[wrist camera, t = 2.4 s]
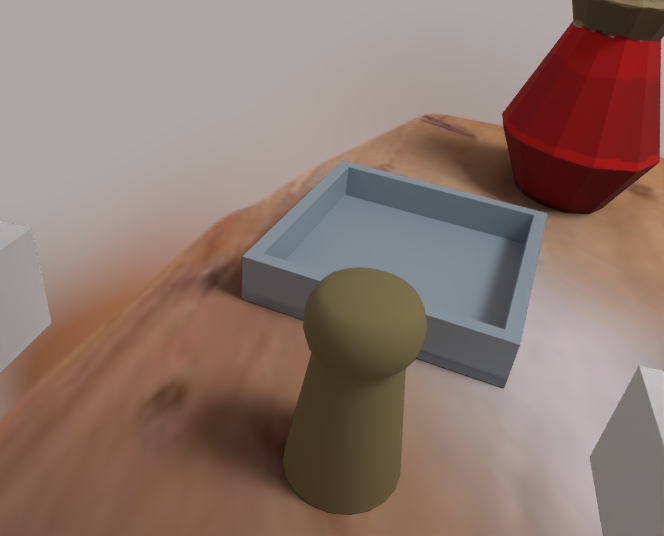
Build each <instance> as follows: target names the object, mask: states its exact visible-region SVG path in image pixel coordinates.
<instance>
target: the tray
mask: <svg viewBox="0 0 664 536" xmlns="http://www.w3.org/2000/svg"><path fill="white" fill-rule="evenodd" d="M547 214H548V213H545V212H541V211H537V210H533V209H529V208H525V207H521V206H517V205H513V204H510V203H506V202H502V201H498V200H494V199H490V198H486V197H482V196H478V195H475V194H471V193H467V192H463V191H459V190H455V189H451V188H447V187H443V186H440V185H436V184H432V183H428V182H424V181H420V180H416V179H412V178H408V177H405V176H401V175H397V174H393V173H389V172H385V171H381V170H377V169H373V168H370V167H366V166H362V165H358V164H354V163H350V162H346V161H341V162H340V163H339V164H338V165H337V166H336V167H335V168H334V169H333V170H332V171H331V172H330V173H329V174H328V175H327V176H326V177H325V178H324V179H322V180H321V181H320V182H319V183H318V184H317V185H316V186H315V187H314V188H313V189H312V190H311V191H310V192H309V193H308V194H307V195H306V196H305V197H304V198H303V199H302V200H301V201H300V202H298V203H297V204H296V205H295V206H294V207H293V208H292V209H291V210H290V211H289V212H288V213H287V214H286V215H285V216H284V217H283V218H282V219H281V220H280V221H279V222H278V223H277V224H276V225H274V226H273V227H272V228H271V229H270V230H269V231H268V232H267V233H266V234H265V235H264V236H263V237H262V238H261V239H260V240H259V241H258V242H257V243H256V244H255V245H254V246H253V247H252V248H250V249H249V250H248V251H247V252H246V253H245V254H244V255H243V256H242V299H243V300H246V301H249V302H252V303H255V304H258V305H261V306H264V307H267V308H270V309H273V310H276V311H279V312H282V313H285V314H288V315H290V316H293V317H296V318H299V319H302V320H304V313H305V306H306V302H307V300H308V298H309V295H310V294H311V292H312V291H313V289H314V288H315V287H316V285H317V284H318V283H319V282H320V281H321V280H322V279H323V278H325V277H326V276H328V275H329V274H331V273H333V272H335V271H339V270H342V269H346V268H358V267H363V268H373V269H378V270H382V271H385V272H389V273H392V274H394V275H396V276H398V277H400V278H402V279H404V280H405V281H406V282H407V283H409V284H410V285H411V286H412V287H413V288H414V289H415V290H416V292H417V293H418V295H419V297H420V298H421V300H422V302H423V304H424V306H425V312H426V321H427V331H426V335H425V339H424V342H423V344H422V347H421V350H420V352H419V354H418V355H417V357H416V358H417V359H420V360H423V361H426V362H429V363H432V364H435V365H437V366H440V367H443V368H446V369H449V370H452V371H455V372H458V373H461V374H464V375H467V376H470V377H473V378H476V379H479V380H482V381H485V382H487V383H490V384H493V385H496V386H499V387H502V388H504V387H505V384H506V381H507V379H508V376H509V373H510V371H511V368H512V365H513V362H514V360H515V357H516V354H517V351H518V349H519V346H520V342H521V337H522V333H523V328H524V323H525V318H526V314H527V309H528V304H529V299H530V295H531V290H532V285H533V280H534V276H535V271H536V266H537V261H538V257H539V252H540V247H541V242H542V238H543V233H544V228H545V223H546V219H547Z"/></svg>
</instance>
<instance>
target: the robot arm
mask: <svg viewBox="0 0 664 536" xmlns="http://www.w3.org/2000/svg"><path fill="white" fill-rule="evenodd" d="M50 324H51V319H50V313H49V309H48V304H47V299H46V294H45V289H44V284H43V279H42V274H41V269H40V264H39V259H38V254H37V249H36V244H35V239H34V235H33V230H32V228H31V227H27V226H23V225H18V224H14V223H9V222H5V221H0V372H1V371H2V370H3V369H4V368H5V367H6V366H7V365H8V364H10V363H11V362H12V361H13V360H14V359H15V358H16V357H17V355H19V354H20V353H21V352H22V351H23V350H24V349H25V348H26V347H27V346H28V345H29V344H30V343H31V342H32V341H33V340H34V339H35V338H36V337H37V336H38V335H39V334H40V333H41V332H43V331H44V329H46V328H47V327H48V326H49V325H50ZM590 462H591V468H592V474H593V479H594V485H595V491H596V497H597V503H598V509H599V515H600V521H601V527H602V532H603V536H664V371H661V370H657V369H652V368H648V367H644V366H639V367H638V369H637V371H636V372H635V374H634V376H633V378H632V380H631V382H630V383H629V385H628V387H627V389H626V391H625V393H624V395H623V396H622V398H621V400H620V402H619V404H618V406H617V408H616V409H615V411H614V413H613V415H612V417H611V419H610V420H609V422H608V424H607V426H606V428H605V430H604V432H603V433H602V435H601V437H600V439H599V441H598V443H597V445H596V446H595V448H594V450H593V452H592V454H591V456H590Z"/></svg>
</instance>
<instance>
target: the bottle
mask: <svg viewBox="0 0 664 536" xmlns="http://www.w3.org/2000/svg"><path fill="white" fill-rule="evenodd" d="M572 5H573V22H572V23H571V24H570V26H569V27H568V28H567V30H566V31H565V32H564V34H563V35H562V36H561V38H560V39H559V40H558V41H557V43H556V44H555V45H554V47H553V48H552V49H551V51H550V52H549V53H548V55H547V56H546V57H545V58H544V60H543V61H542V62H541V64H540V65H539V66H538V68H537V69H536V70H535V72H534V73H533V74H532V75H531V77H530V78H529V79H528V81H527V82H526V83H525V85H524V86H523V87H522V89H521V90H520V91H519V93H518V94H517V95H516V96H515V98H514V99H513V101H512V102H511V103H510V104H509V106H508V107H507V108H506V110H505V111H504V112H503V114H502V116H503V126H504V131H505V136H506V141H507V146H508V150H509V155H510V160H511V165H512V169H513V174H514V179H515V184H516V186H517V187H518V188H519V189H520V190H521V191H522V192H523V193H524V195H526V196H528V197H529V198H531V199H533V200H535V201H537V202H539V203H540V204H542V205H545V206H547V207H550V208H553V209H556V210H559V211H562V212H565V213H583V214H590V213H592V212H594V211H597V210H599V209H601V208H603V207H604V206H605V205H607V204H608V203H609V202H610V201H612V200H613V199H614V198H615V197H617V196H618V195H619V194H620V193H622V192H623V191H624V190H625V189H627V188H628V187H629V186H630V185H632V184H633V183H634V182H635V181H637V180H638V179H639V178H640V177H642V176H643V175H644V174H645V173H647V172H648V171H649V170H650V169H652V168H653V167H654V166H655V165H657V164H658V163H659V159H660V151H659V150H660V67H661V66H660V65H661V39H662V37H663V36H664V0H572Z"/></svg>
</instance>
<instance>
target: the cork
mask: <svg viewBox="0 0 664 536" xmlns="http://www.w3.org/2000/svg"><path fill="white" fill-rule="evenodd" d="M303 328H304V332H305V337H306V340H307V343H308V346H309V349H310V351H311V352H312V353H311V356H310V360H309V363H308V367H307V371H306V374H305V378H304V381H303V385H302V388H301V392H300V395H299V399H298V402H297V406H296V409H295V413H294V416H293V420H292V424H291V427H290V431H289V434H288V438H287V441H286V445H285V449H284V456H283V467H284V471H285V475H286V479H287V480H288V482H289V483H290V485H291V487H292V488H293V490H294V491H295V493H296V494H297V495H299V496H300V497H301V498H302V499H304V500H305V501H306V502H307V503H309V504H310V505H311V506H314V507H316V508H319V509H321V510H324V511H326V512H329V513H336V514H346V515H351V514H357V513H362V512H367V511H370V510H372V509H373V508H375V507H377V506H379V505H381V504H382V503H384V502H385V501H386V500H387V499H388V497H389V496H390V495H391V494H392V493H393V492H394V490H395V489H396V486H397V483H398V480H399V477H400V467H401V448H402V429H403V409H404V390H405V371H406V368H407V367H408V366H409V365H410V364H411V363H412V362H413V361H414V360H415V358H416V357H417V355H418V354H419V352H420V350H421V347H422V344H423V342H424V339H425V335H426V331H427V321H426V312H425V306H424V304H423V302H422V300H421V298H420V297H419V295H418V293H417V292H416V290H415V289H414V288H413V287H412V286H411V285H410V284H409V283H407V282H406V281H405V280H404V279H402V278H400V277H398V276H396V275H394V274H392V273H389V272H385V271H382V270H378V269H373V268H363V267H358V268H346V269H342V270H339V271H335V272H333V273H331V274H329V275H328V276H326V277H325V278H323V279H322V280H321V281H320V282H319V283H318V284H317V285H316V287H315V288H314V289H313V291H312V292H311V294H310V295H309V298H308V300H307V302H306V306H305V313H304V324H303Z"/></svg>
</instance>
